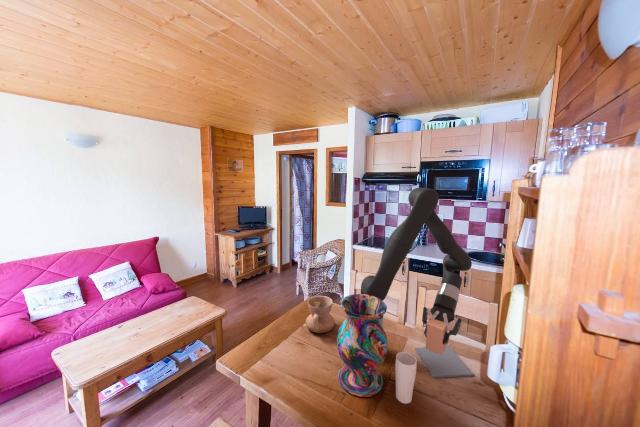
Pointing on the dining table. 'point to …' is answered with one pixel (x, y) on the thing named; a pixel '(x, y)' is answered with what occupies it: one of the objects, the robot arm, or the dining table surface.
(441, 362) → the charcoal mat
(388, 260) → the robot arm
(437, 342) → the brick block
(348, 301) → the vase
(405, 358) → the drinking glass
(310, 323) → the ceramic jug
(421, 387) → the dining table surface
